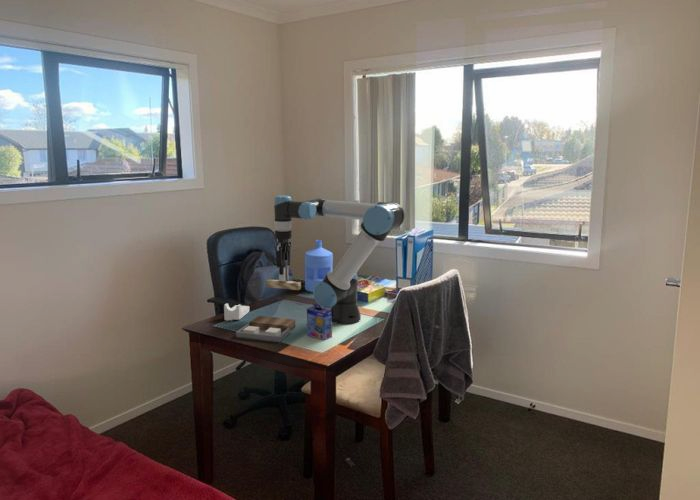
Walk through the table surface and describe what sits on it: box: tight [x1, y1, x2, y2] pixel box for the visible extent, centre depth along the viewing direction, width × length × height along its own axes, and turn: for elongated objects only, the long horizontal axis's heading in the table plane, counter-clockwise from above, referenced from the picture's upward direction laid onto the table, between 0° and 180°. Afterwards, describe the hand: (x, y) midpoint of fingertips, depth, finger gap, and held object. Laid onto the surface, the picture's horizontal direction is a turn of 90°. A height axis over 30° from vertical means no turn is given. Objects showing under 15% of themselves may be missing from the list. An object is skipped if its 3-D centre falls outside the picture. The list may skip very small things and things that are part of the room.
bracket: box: [223, 303, 250, 322], centre depth 253 cm, size 13×7×8 cm, turn 169°
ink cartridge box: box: [306, 303, 333, 341], centre depth 228 cm, size 10×6×14 cm, turn 55°
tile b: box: [243, 326, 259, 334], centre depth 229 cm, size 5×5×2 cm
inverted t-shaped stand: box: [265, 260, 302, 291], centre depth 247 cm, size 16×3×13 cm, turn 74°
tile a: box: [265, 328, 281, 336], centre depth 227 cm, size 5×5×2 cm
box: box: [235, 323, 291, 344], centre depth 229 cm, size 20×11×2 cm, turn 74°
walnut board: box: [249, 315, 296, 332], centre depth 238 cm, size 18×9×4 cm, turn 74°
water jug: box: [304, 239, 334, 293], centre depth 299 cm, size 16×16×28 cm
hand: (283, 280), depth 248 cm, fingers closed on inverted t-shaped stand, 3 cm apart
